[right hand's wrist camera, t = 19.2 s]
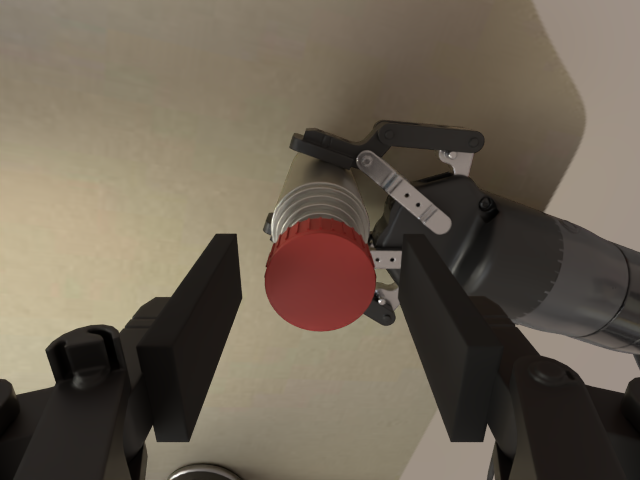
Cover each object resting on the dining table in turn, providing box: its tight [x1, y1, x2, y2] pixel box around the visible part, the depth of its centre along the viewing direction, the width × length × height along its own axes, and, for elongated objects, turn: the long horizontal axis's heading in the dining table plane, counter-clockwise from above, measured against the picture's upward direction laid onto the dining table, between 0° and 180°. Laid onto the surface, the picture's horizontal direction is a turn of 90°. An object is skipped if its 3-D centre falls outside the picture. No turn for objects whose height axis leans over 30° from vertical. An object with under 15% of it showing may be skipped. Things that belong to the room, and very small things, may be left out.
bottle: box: [271, 152, 370, 244], centre depth 22 cm, size 5×5×17 cm
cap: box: [264, 217, 376, 331], centre depth 14 cm, size 4×4×2 cm
